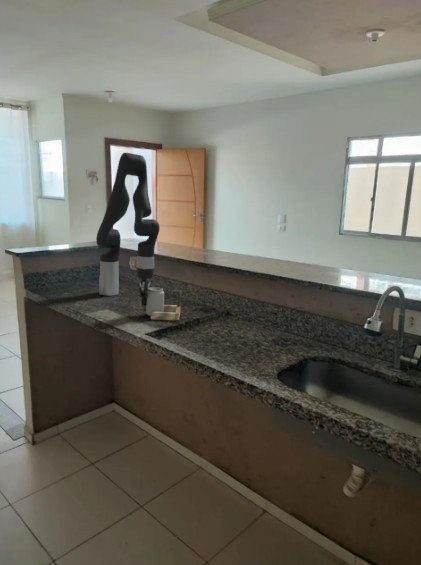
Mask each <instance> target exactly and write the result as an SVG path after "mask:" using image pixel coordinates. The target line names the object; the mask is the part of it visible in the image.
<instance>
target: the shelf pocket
mask: <svg viewBox="0 0 421 565" xmlns="http://www.w3.org/2000/svg"><path fill="white" fill-rule="evenodd" d="M172 293H173V294H177V303H176V304H177V305H176V304H174V305H173V304H164V312H152V311H151V316H150V319H151V320H154V321H155V320H161V321H177V320H180V316H181V310H182V290H181V289H180V290H178V289H177V290H175V289H174V290H173V289H172ZM177 322H178V321H177Z"/></svg>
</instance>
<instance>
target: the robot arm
mask: <svg viewBox="0 0 421 565" xmlns="http://www.w3.org/2000/svg"><path fill="white" fill-rule="evenodd" d="M115 174H116V175H115V178H114V183H113V186H112V190H111V193H110V196H109V199H108V202H107V207H106V210H105V213H104V216H103V219H102V221H101V223H100V225H99V229H98V230H97V234H96V238H95V239H96V240H95V241H96V245H97V246H98V247H99V248H102V249H105V248H106V249H108V248H109V249H108V250H107V251H106V252H104V253H103V254H101V255H100V257H99V261H100V262H99V267H100V270H99V277H98V294H99V295H103V296H106V297H107V296H109V297H110V296H117V295H118V294H119V293H120V292H119V291H120V289H119V288H120V286H119V285H120V284H119V282H120V280H119V276H120V274H119V272H120V271H119V269H120V265H119V264H120V262H119V261H120V254H121V234H120V230H118V229H115V228H113V227H114V226H115V224H117V223H118V222H120V220H121V219H122V218H123V217H124V216H125V215H126V213H127V210H128V209H129V205H130V201H131V198H130V195H129V192H128V190H127V186H126V178H127V176H133V177H137V179H138V184H137V186H136V189H135V190H134V192H133V194H132V204H133V208H134V222H133V223H134V225H133V231H134V233H135V235H136V236H138V237H147V239H146V240H143V241H139V242H138V243H137V258H136V272H135V273H136V274H135V275H136V277H137V278H138V279H141V280H140V282H139V295H140V298H141V306H142V307H146V305H147V292H148V290H149V288H150V286H151V281H150V279H153V278H154V277H155V246H156V242H157V240H158V236H159V232H160V228H161V227H160V224H159V223H160V222H159V221H158V220H156V219H150V218H148V217H150V216H151V215H152V206H151V201H150V197H149V190H148V189H149V188H148V187H149V186H148V166H147V162H146V158H145V157H144V156H143V155H140V154H136V153H131V152H130V153H129V152H123V153H121V155H120V158H119V160H118V164H117V168H116V173H115ZM145 218H146V219H145ZM147 218H148V219H147Z"/></svg>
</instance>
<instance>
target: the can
mask: <svg viewBox="0 0 421 565" xmlns="http://www.w3.org/2000/svg"><path fill="white" fill-rule="evenodd" d="M164 305H165V291H164V288H163V287H156V286H152V287H149V290H148V292H147V305H146V306H145V307H146V308H145V311H146V312H145V313H146V315H147V316H149V317H151V311H152V312H164Z"/></svg>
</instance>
